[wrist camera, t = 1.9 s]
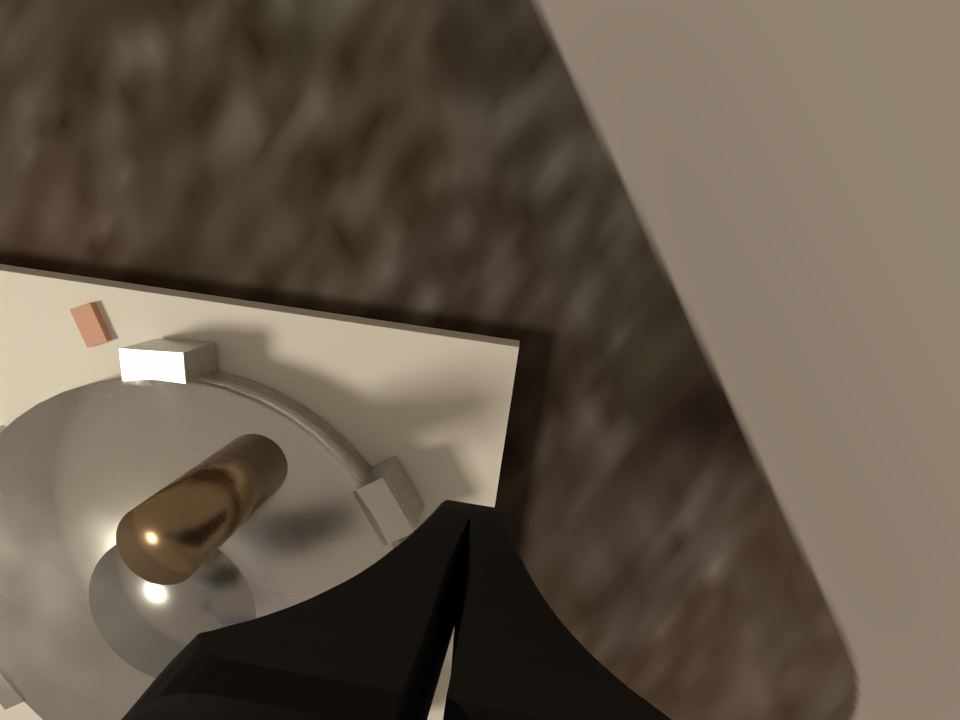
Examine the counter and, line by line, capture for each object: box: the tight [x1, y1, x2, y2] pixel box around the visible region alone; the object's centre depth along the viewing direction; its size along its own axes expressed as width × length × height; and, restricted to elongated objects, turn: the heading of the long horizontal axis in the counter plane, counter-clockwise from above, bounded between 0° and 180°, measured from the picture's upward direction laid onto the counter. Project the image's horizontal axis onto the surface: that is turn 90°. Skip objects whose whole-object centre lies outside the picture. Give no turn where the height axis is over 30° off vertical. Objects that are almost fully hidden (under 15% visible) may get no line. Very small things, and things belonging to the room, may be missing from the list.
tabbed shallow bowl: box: [0, 338, 425, 720], centre depth 15 cm, size 14×16×6 cm
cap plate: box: [0, 264, 520, 720], centre depth 18 cm, size 18×18×1 cm
